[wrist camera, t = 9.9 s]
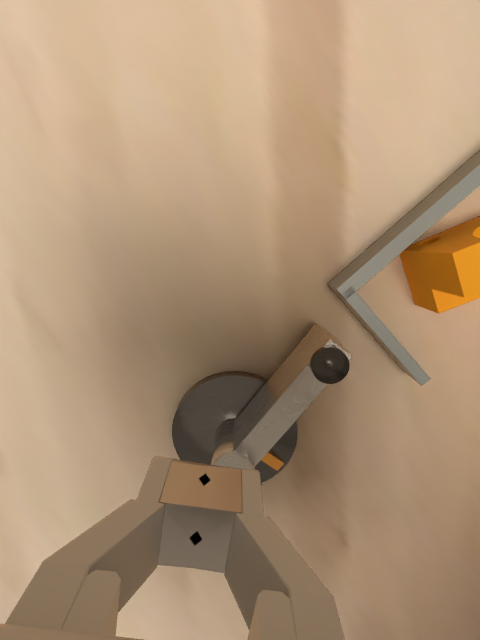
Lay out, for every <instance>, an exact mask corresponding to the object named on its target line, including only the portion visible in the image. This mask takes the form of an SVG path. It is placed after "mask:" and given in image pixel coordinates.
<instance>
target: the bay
mask: <svg viewBox="0 0 480 640" xmlns="http://www.w3.org/2000/svg"><path fill="white" fill-rule="evenodd" d="M479 185H480V150H479V151H478V152H477V153H476V154H475V155H474V156H472V157H471V158H470V159H469V160H468V161H467V162H466V163H465V164H463V165H462V166H461V167H460V168H459V169H458V170H457V171H455V172H454V173H453V174H452V175H451V176H450V177H449V178H447V179H446V180H445V181H444V182H443V183H442V184H441V185H439V186H438V187H437V188H436V189H435V190H434V191H433V192H432V193H430V194H429V195H428V196H427V197H426V198H425V199H424V200H422V201H421V202H420V203H419V204H418V205H417V206H416V207H414V208H413V209H412V210H411V211H410V212H409V213H408V214H407V215H405V216H404V217H403V218H402V219H401V220H400V221H399V222H397V223H396V224H395V225H394V226H393V227H392V228H391V229H389V230H388V231H387V232H386V233H385V234H384V235H383V236H382V237H380V238H379V239H378V240H377V241H376V242H375V243H374V244H372V245H371V246H370V247H369V248H368V249H367V250H366V251H364V252H363V253H362V254H361V255H360V256H359V257H358V258H357V259H355V260H354V261H353V262H352V263H351V264H350V265H349V266H347V267H346V268H345V269H344V270H343V271H342V272H341V273H339V274H338V275H337V276H336V277H335V278H334V279H333V280H331V281H330V282H329V283H328V285H329V287H330V288H331V289H332V290H333V291H334V292H335V293H336V294H337V296H338V297H339V298H340V299H341V300H342V301H343V302H344V304H345V305H346V306H347V307H348V308H349V309H350V310H351V312H352V313H353V314H354V315H355V316H356V317H357V318H358V319H359V321H360V322H361V323H362V324H363V325H364V326H365V327H366V329H367V330H368V331H369V332H370V333H371V334H372V335H373V337H374V338H375V339H376V340H377V341H378V342H379V343H380V344H381V346H382V347H383V348H384V349H385V350H386V351H387V352H388V354H389V355H390V356H391V357H392V358H393V359H394V360H395V362H396V363H397V364H398V365H399V366H400V367H401V368H402V369H403V371H404V372H405V373H407V374H408V375H409V376H410V377H411V378H413V379H414V380H415V381H416V382H417V383H419V384H420V385H421V386H422V385H423V384H425V383H426V382H427V381H429V380H430V379H431V378H430V377H429V376H428V375H427V374H426V373H425V371H424V370H423V369H422V368H421V367H420V366H419V365H418V363H417V362H416V361H415V360H414V359H413V358H412V356H411V355H410V354H409V353H408V352H407V351H406V349H405V348H404V347H403V346H402V345H401V344H400V343H399V341H398V340H397V339H396V338H395V337H394V336H393V334H392V333H391V332H390V331H389V330H388V329H387V328H386V326H385V325H384V324H383V323H382V322H381V321H380V319H379V318H378V317H377V316H376V315H375V314H374V313H373V311H372V310H371V309H370V308H369V307H368V306H367V304H366V303H365V302H364V301H363V300H362V299H361V297H360V296H359V295H358V294H357V293H356V291H357V290H358V289H359V288H361V287H362V286H363V285H364V284H365V283H366V282H368V281H369V280H370V279H371V278H372V277H373V276H375V275H376V274H377V273H378V272H379V271H380V270H382V269H383V268H384V267H385V266H386V265H387V264H389V263H390V262H391V261H392V260H393V259H394V258H396V257H397V256H398V255H399V254H400V253H401V252H402V251H404V250H405V249H406V248H407V247H408V246H409V245H411V244H412V243H413V242H414V241H415V240H416V239H418V238H419V237H420V236H421V235H422V234H423V233H425V232H426V231H427V230H428V229H429V228H430V227H432V226H433V225H434V224H435V223H436V222H437V221H439V220H440V219H441V218H442V217H443V216H444V215H446V214H447V213H448V212H449V211H450V210H451V209H453V208H454V207H455V206H456V205H457V204H458V203H460V202H461V201H462V200H463V199H464V198H465V197H467V196H468V195H469V194H470V193H471V192H472V191H474V190H475V189H476V188H477V187H478V186H479Z"/></svg>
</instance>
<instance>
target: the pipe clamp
mask: <svg viewBox="0 0 480 640" xmlns="http://www.w3.org/2000/svg"><path fill="white" fill-rule="evenodd" d="M400 257H401V261H402V264H403V267H404V270H405V274H406V277H407V280H408V283H409V287H410V290H411V293H412V296H413V300H414V303H415V305H418V306H420V307H423V308H426V309H428V310H431V311H434V312H436V313H441V312H444V311H446V310H449V309H452V308H454V307H457V306H459V305H462V304H465V303H467V302H470V301H472V300H475V299H477V298H480V216H479V217H477V218H475V219H472V220H470V221H467V222H465V223H462V224H460V225H458V226H455V227H453V228H450V229H448V230H446V231H443V232H441V233H438V234H436V235H433V236H431V237H429V238H426V239H424V240H421V241H419V242H417V243H414V244H412V245H409V246H408V247H407V248H406V249H405V250H404V251H402V252H401V253H400Z"/></svg>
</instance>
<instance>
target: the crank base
mask: <svg viewBox="0 0 480 640" xmlns="http://www.w3.org/2000/svg"><path fill="white" fill-rule="evenodd" d="M267 381H268V380H266V379H264V378H262V377H260V376H257V375H254V374H250V373H246V372H237V371H236V372H223V373H218V374H215V375H212V376H209V377H207V378H205V379H203V380H201V381H200V382H198V383H197V384H195V385H194V386H193V387H192V388H191V389H190V390H189V391H188V392H187V393H186V394H185V396H184V397H183V398H182V400H181V402H180V404H179V406H178V409H177V411H176V414H175V417H174V420H173V426H172V436H173V442H174V447H175V449H176V452H177V454H178V456H179V458H180V459H181V460H184V461H190V462H196V463H203V464H208V465H211V462H212V455H213V448H214V442H215V435H216V431H217V428H218V427H219V426H220V425H221V424H222V423H223V422H225V421H227V420H231V419H237V417H238V416H239V415H240V414H241V413H242V411H243V410H244V409H245V408H246V407H247V405H248V404H249V403H250V402H251V401H252V399H253V398H254V397H255V396H256V395H257V393H258V392H259V391H260V390H261V389H262V387H263V386H264V385H265V384H266V383H267ZM296 441H297V425H296V421H295V422H294V423H293V424H292V425H291V427H290V428H289V429H288V430H287V431H286V432H285V433H284V434H283V436H282V437H281V438H280V439H279V440H278V441H277V442H276V443H275V445H274V446H273V447H272V448H271V449H270V450H269V451H268V453H267V454H266V455H265V456H264V457H263V458H262V459H261V460H260V462H259V463H258V464H257V465H256V466H255V470H258V471H259V472H260V481H261V483H262V482H264V481H266V480H268V479H270V478H272V477H273V476H275V475H276V474H277V473H278V472H279V471H281V470H282V469H283V467H284V466H285V465H286V464H287V463H288V461H289V460H290V458H291V456H292V454H293V452H294V449H295V446H296Z"/></svg>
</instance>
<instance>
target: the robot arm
mask: <svg viewBox="0 0 480 640" xmlns="http://www.w3.org/2000/svg"><path fill="white" fill-rule="evenodd" d="M157 565H165V566H177V567H188V568H196V569H202V570H209V571H215V572H222V573H225V574H224V575H225V577H226V579H227V582H228V584H229V586H230V588H231V591H232V593H233V595H234V597H235V599H236V602H237V604H238V606H239V608H240V610H241V613H242V615H243V617H244V619H245V622H246V624H247V626H248V628H249V630H250V631H249V635H248V639H247V640H345V638H344V634H343V631H342V627H341V623H340V619H339V615H338V612H337V608H336V604H335V600H334V597H333V595H332V594H331V593H330V592H329V590H328V589H327V588H326V587H325V586H324V584H323V583H322V582H321V581H320V579H319V578H318V577H317V576H316V574H315V573H314V572H313V571H312V569H311V568H310V567H309V566H308V564H307V563H306V562H305V561H304V560H303V558H302V557H301V556H300V555H299V553H298V552H297V551H296V550H295V548H294V547H293V546H292V545H291V543H290V542H289V541H288V540H287V539H286V537H285V536H284V535H283V534H282V532H281V531H280V530H279V529H278V527H277V526H276V525H275V524H274V522H273V521H272V520H271V519H270V517H264V512H263V502H262V491H261V481H260V472H259V471H258V470H253V469H243V468H241V469H238V468H231V467H223V466H215V465H208V464H203V463H196V462H190V461H184V460H178V459H170V458H163V457H157V456H155V457H154V458H153V459H152V461H151V464H150V467H149V469H148V472H147V474H146V477H145V479H144V482H143V484H142V487H141V489H140V492H139V495H138V497H137V500H133V499H131V500H129V501H128V502H126V503H125V504H123V505H122V506H121V507H119V508H118V509H116V510H115V511H114V512H112V513H111V514H109V515H108V516H106V517H105V518H104V519H102V520H101V521H99V522H98V523H96V524H95V525H94V526H92V527H91V528H89V529H88V530H87V531H85V532H84V533H82V534H81V535H79V536H78V537H77V538H75V539H74V540H72V541H71V542H70V543H68V544H67V545H65V546H64V547H62V548H61V549H60V550H58V551H57V552H55V553H54V554H53V555H51V556H50V557H48V558H47V559H45V560H44V561H43V562H42V564H41V566H40V567H39V569H38V570H37V572H36V574H35V575H34V577H33V579H32V580H31V582H30V584H29V585H28V587H27V588H26V590H25V592H24V593H23V595H22V597H21V598H20V600H19V601H18V603H17V605H16V606H15V608H14V610H13V611H12V613H11V615H10V616H9V618H8V619H7V621H6V623H5V624H0V640H143V639H134V638H125V637H116V636H115V635H116V625H117V615H118V612H119V611H120V610H121V609H122V607H123V606H124V605H125V604H126V603H127V602H128V600H129V599H130V598H131V597H132V596H133V595H134V593H135V592H136V591H137V590H138V589H139V588H140V586H141V585H142V584H143V583H144V582H145V580H146V579H147V578H148V577H149V576H150V575H151V573H152V572H153V571H154V570H155V569H156V568H157ZM191 566H192V567H191Z"/></svg>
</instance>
